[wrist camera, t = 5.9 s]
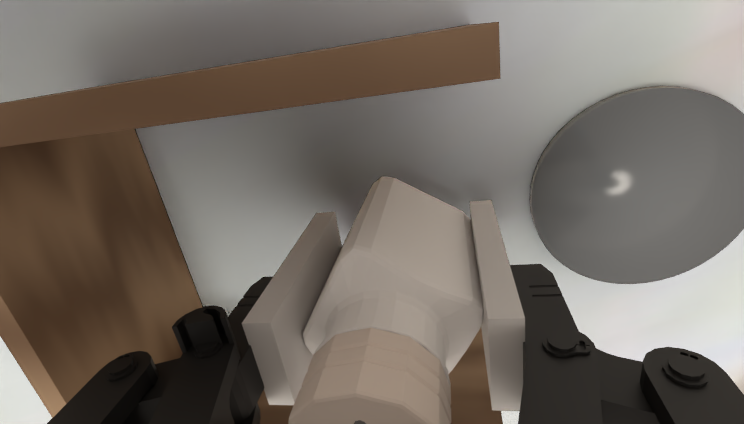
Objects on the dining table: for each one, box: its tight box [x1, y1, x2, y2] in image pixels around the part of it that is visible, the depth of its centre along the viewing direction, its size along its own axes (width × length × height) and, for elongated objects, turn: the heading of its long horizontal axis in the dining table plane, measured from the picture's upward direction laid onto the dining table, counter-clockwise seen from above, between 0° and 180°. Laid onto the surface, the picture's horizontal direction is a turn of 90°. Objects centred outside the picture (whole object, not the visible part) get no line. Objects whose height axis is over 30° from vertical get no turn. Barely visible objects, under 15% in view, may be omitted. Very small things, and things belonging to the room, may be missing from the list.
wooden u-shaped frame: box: [0, 22, 503, 424], centre depth 15 cm, size 14×16×8 cm
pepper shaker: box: [288, 176, 483, 424], centre depth 12 cm, size 4×4×10 cm
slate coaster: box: [530, 86, 744, 284], centre depth 16 cm, size 8×8×1 cm
